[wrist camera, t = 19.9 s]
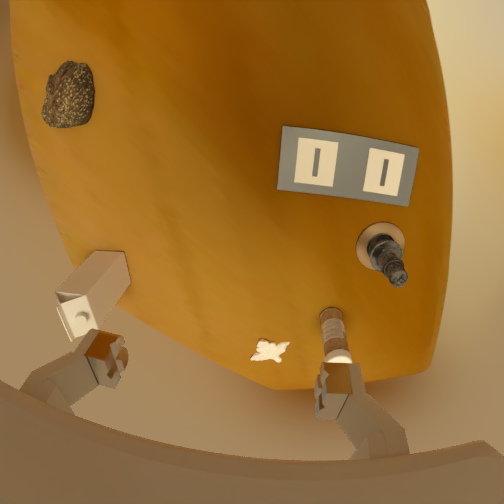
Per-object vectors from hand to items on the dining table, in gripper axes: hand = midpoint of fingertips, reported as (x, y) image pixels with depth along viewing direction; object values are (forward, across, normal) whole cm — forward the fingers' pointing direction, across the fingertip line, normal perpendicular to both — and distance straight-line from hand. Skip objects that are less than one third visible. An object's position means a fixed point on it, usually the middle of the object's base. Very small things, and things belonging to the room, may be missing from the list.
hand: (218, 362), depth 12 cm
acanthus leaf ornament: (+40, -4, +39) cm, 56 cm away
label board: (+39, -13, -1) cm, 41 cm away
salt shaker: (+39, -21, +12) cm, 46 cm away
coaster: (+39, -21, +12) cm, 46 cm away
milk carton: (+39, +29, +22) cm, 54 cm away
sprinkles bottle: (+39, -15, +28) cm, 50 cm away
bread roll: (+40, +36, -12) cm, 55 cm away
